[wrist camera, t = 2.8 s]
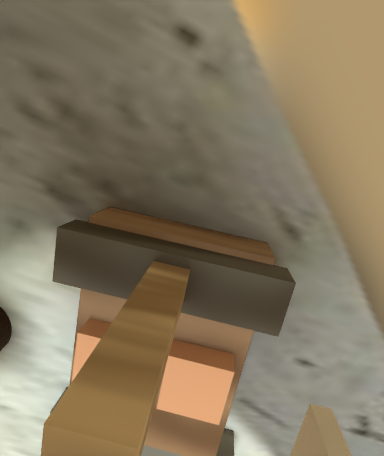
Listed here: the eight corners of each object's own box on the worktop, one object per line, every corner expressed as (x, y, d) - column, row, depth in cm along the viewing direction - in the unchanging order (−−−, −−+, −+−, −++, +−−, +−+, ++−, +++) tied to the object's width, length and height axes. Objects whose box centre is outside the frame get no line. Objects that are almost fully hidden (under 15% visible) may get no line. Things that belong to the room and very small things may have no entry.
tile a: (89, 318, 23) (77, 332, 22) (148, 332, 23) (141, 348, 21) (83, 368, 25) (71, 386, 23) (139, 382, 24) (131, 402, 23)
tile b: (172, 338, 23) (168, 355, 21) (233, 354, 23) (234, 372, 21) (161, 388, 24) (156, 408, 22) (219, 403, 24) (218, 425, 22)
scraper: (75, 219, 22) (-199, 335, 8) (287, 268, 21) (421, 501, 7) (70, 268, 23) (-180, 449, 9) (272, 316, 22) (361, 605, 8)
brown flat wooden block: (110, 207, 25) (89, 216, 21) (267, 242, 24) (275, 259, 21) (85, 389, 30) (65, 423, 26) (214, 423, 30) (213, 463, 26)
